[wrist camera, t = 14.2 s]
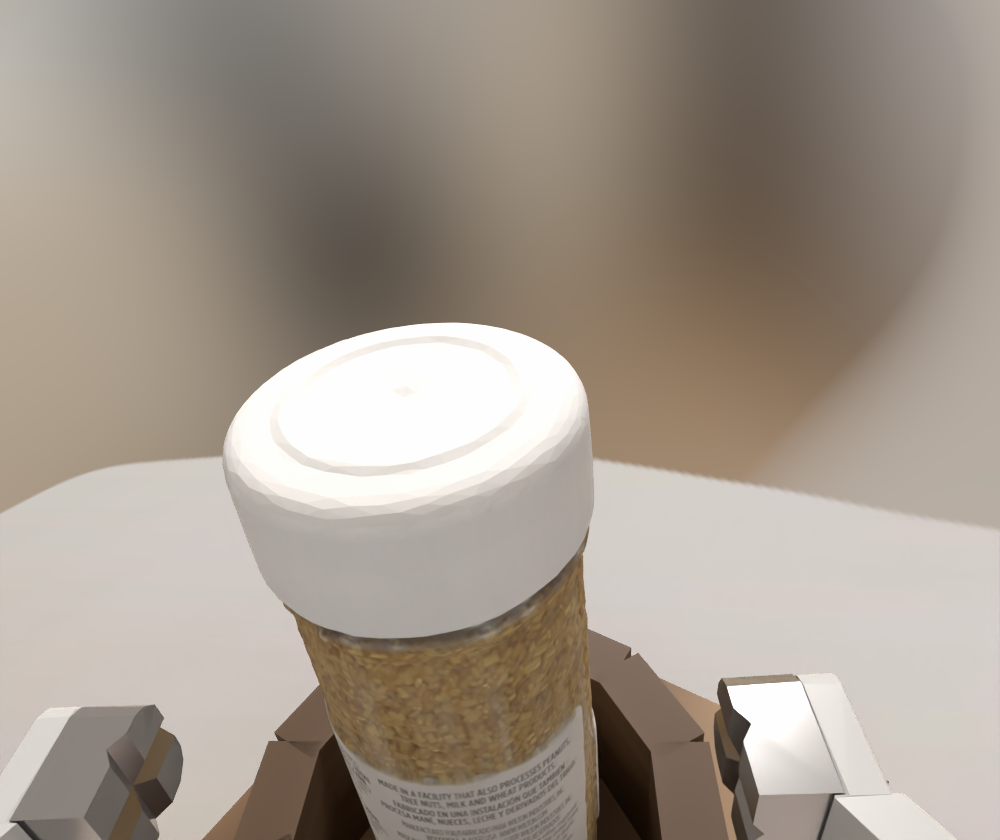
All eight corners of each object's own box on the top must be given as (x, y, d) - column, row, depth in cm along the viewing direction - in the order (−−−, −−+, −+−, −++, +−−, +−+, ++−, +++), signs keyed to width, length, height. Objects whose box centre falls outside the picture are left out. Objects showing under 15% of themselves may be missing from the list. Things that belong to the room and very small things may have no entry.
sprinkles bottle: (604, 798, 17) (594, 305, 10) (603, 1031, 14) (586, 518, 6) (427, 784, 18) (295, 314, 11) (380, 1002, 14) (129, 511, 7)
